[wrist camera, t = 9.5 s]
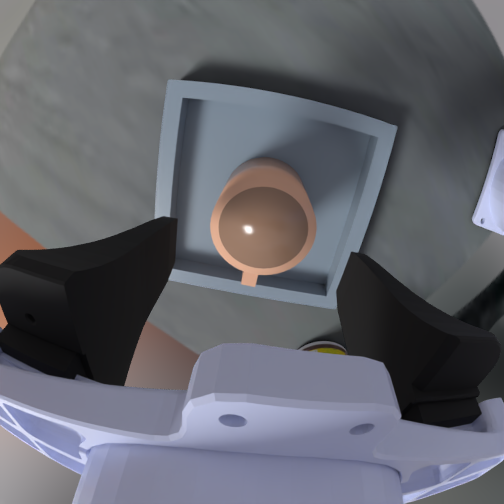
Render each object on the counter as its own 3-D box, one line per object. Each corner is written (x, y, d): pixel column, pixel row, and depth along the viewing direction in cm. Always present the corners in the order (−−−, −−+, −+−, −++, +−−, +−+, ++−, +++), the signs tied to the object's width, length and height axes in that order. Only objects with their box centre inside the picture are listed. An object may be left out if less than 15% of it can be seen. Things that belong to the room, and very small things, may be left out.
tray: (385, 123, 16) (397, 126, 14) (331, 292, 22) (335, 309, 21) (178, 81, 16) (168, 79, 14) (162, 262, 22) (153, 276, 20)
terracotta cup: (314, 168, 17) (330, 193, 13) (287, 258, 20) (292, 304, 16) (232, 149, 17) (219, 167, 13) (215, 242, 20) (200, 285, 16)
